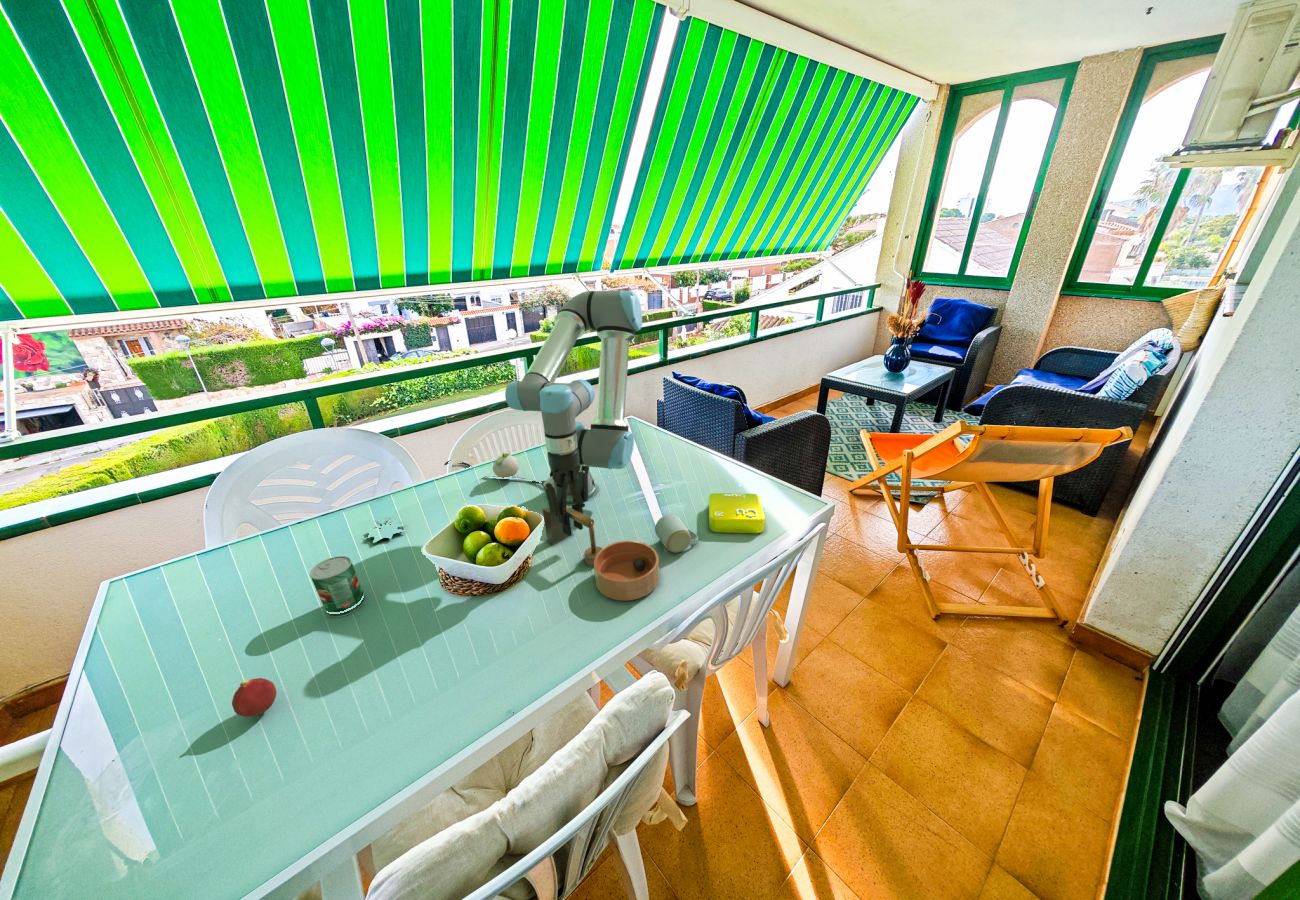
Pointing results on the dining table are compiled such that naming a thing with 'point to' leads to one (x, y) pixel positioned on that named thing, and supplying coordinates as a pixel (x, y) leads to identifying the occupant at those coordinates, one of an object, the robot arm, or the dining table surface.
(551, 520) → the dark upright slab
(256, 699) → the red plum
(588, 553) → the ladle
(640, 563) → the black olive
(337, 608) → the canned tomato
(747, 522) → the element tile
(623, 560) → the bowl
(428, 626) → the dining table surface
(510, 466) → the decorative fruit
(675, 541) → the ceramic mug
